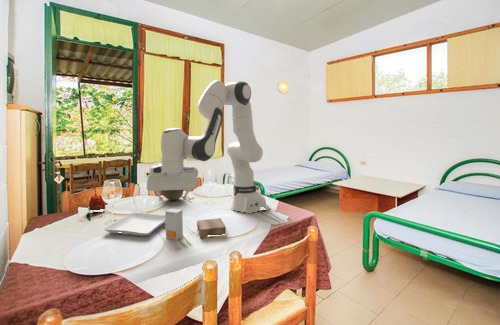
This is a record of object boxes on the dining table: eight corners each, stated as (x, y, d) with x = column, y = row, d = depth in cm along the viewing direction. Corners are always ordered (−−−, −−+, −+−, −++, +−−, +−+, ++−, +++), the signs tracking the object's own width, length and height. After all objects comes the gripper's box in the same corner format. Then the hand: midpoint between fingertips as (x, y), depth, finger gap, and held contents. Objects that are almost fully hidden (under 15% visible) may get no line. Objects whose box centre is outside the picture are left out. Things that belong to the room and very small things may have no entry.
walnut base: (220, 226, 124) (220, 218, 123) (225, 235, 113) (225, 226, 113) (197, 228, 120) (197, 220, 120) (200, 238, 110) (200, 229, 109)
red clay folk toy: (90, 215, 136) (88, 187, 134) (88, 211, 141) (86, 184, 139) (106, 212, 140) (105, 185, 138) (104, 208, 146) (102, 183, 144)
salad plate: (147, 240, 108) (147, 232, 108) (103, 235, 112) (102, 228, 111) (171, 222, 129) (171, 215, 128) (133, 218, 132) (132, 212, 132)
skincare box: (165, 237, 110) (164, 210, 108) (171, 234, 114) (171, 208, 112) (177, 240, 108) (176, 212, 106) (183, 236, 112) (182, 209, 110)
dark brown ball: (174, 196, 174) (173, 174, 172) (188, 199, 166) (188, 177, 164) (156, 200, 163) (155, 177, 161) (170, 205, 155) (169, 180, 153)
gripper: (197, 165, 113) (197, 196, 115) (146, 166, 106) (147, 199, 108) (198, 168, 107) (198, 200, 109) (145, 169, 100) (146, 203, 102)
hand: (172, 199), depth 108 cm, fingers open, 8 cm apart
